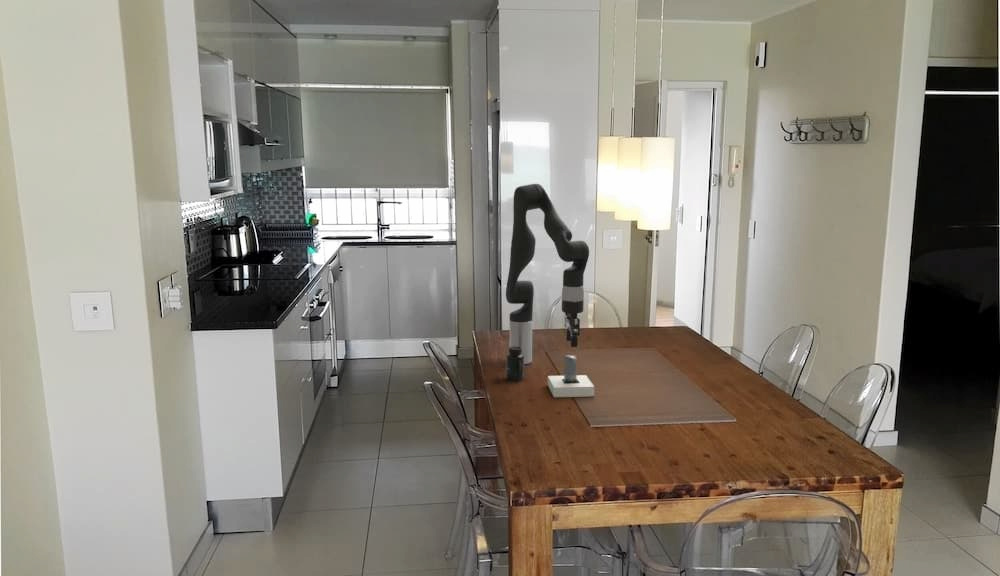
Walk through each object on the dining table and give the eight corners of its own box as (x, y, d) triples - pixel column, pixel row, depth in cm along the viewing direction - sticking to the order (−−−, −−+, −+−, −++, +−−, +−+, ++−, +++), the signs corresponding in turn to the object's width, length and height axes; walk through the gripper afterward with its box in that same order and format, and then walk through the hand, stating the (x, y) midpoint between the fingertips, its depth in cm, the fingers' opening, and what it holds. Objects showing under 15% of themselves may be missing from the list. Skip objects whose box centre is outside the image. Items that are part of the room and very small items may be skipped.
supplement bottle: (502, 379, 270) (502, 348, 268) (510, 375, 276) (511, 344, 274) (519, 382, 267) (519, 350, 265) (527, 377, 273) (527, 346, 271)
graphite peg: (562, 387, 260) (563, 355, 258) (575, 387, 260) (575, 355, 258) (565, 391, 255) (565, 358, 253) (577, 391, 256) (578, 358, 254)
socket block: (547, 385, 264) (547, 375, 263) (585, 384, 265) (586, 375, 265) (554, 397, 250) (554, 387, 250) (594, 396, 251) (594, 386, 251)
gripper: (558, 294, 259) (557, 339, 262) (565, 302, 245) (564, 349, 248) (579, 294, 260) (578, 338, 262) (587, 302, 246) (586, 348, 248)
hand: (571, 343), depth 255 cm, fingers open, 8 cm apart
